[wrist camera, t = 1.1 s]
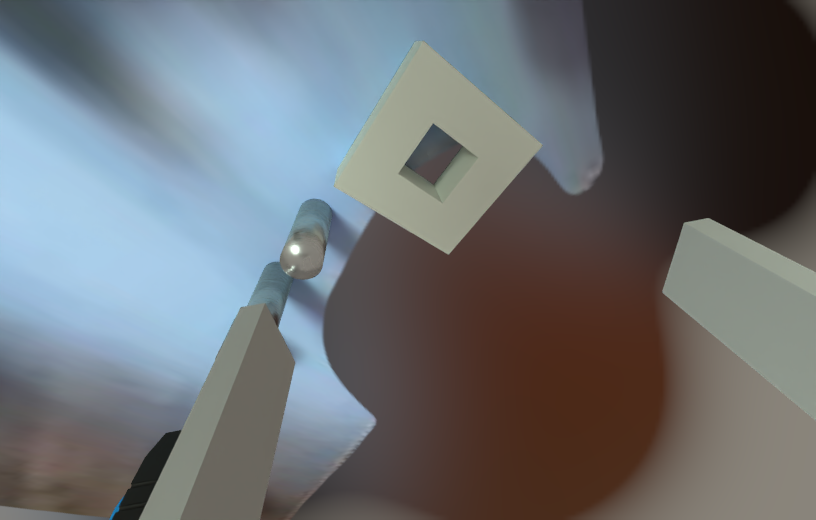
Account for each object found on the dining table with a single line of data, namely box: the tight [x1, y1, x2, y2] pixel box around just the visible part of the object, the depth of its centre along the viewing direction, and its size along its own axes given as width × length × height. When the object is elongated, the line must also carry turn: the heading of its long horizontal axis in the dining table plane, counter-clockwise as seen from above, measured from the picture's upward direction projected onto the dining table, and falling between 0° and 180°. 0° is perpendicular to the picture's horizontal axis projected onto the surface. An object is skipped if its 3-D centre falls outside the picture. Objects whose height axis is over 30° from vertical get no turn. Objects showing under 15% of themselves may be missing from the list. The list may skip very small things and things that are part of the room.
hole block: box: [334, 41, 543, 255], centre depth 31 cm, size 13×13×5 cm
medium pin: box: [280, 199, 332, 280], centre depth 32 cm, size 3×3×10 cm
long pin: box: [247, 262, 294, 327], centre depth 33 cm, size 3×3×14 cm
